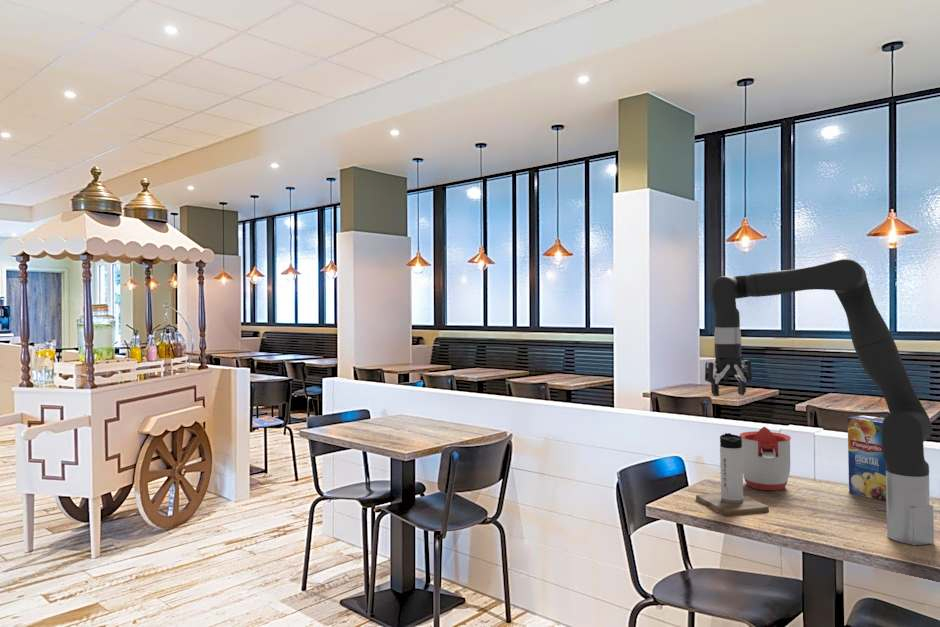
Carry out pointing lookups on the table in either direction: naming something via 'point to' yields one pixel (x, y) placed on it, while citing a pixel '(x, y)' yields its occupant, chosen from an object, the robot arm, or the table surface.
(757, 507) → the walnut board
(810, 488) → the table surface
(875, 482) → the juice carton
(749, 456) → the citrus juicer
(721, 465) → the travel mug
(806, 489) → the table surface
